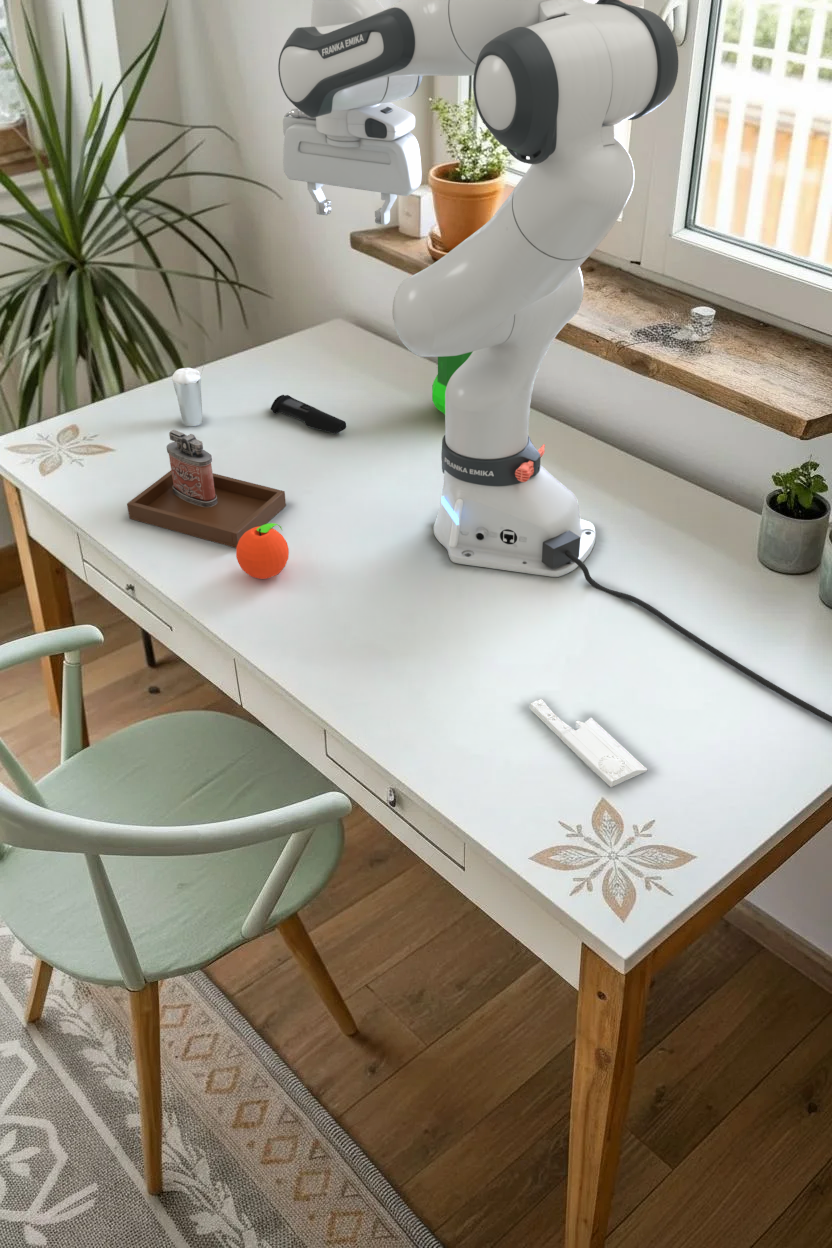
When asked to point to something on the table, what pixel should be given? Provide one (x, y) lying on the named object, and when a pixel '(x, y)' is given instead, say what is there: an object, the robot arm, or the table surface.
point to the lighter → (191, 470)
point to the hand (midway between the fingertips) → (353, 218)
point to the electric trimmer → (307, 414)
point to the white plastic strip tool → (592, 746)
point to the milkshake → (189, 395)
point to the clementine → (262, 551)
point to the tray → (209, 509)
